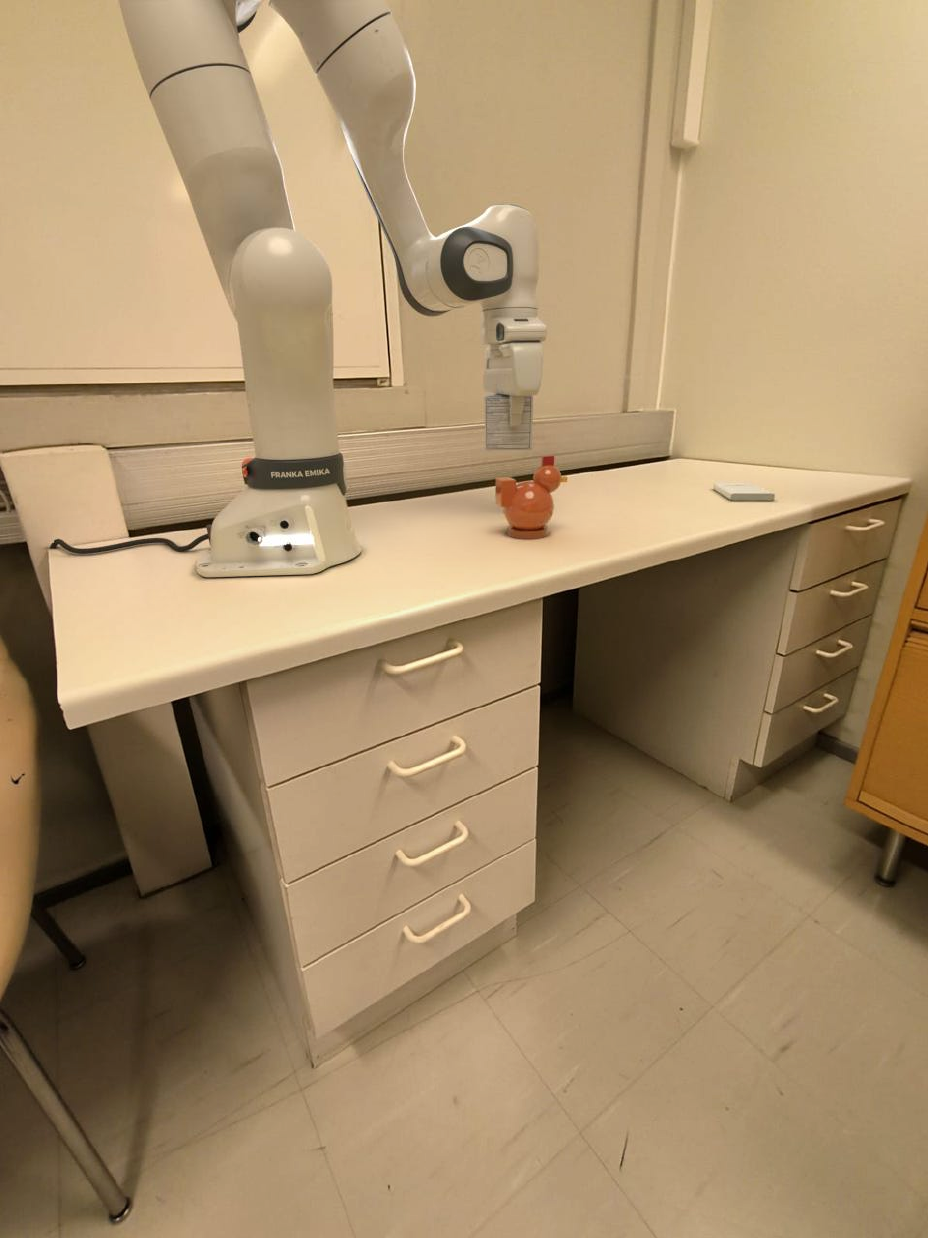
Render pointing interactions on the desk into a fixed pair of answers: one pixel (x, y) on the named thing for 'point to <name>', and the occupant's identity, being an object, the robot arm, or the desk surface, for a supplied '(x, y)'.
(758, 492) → the hard drive
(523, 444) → the medicine box
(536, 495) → the ceramic hen
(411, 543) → the desk surface
